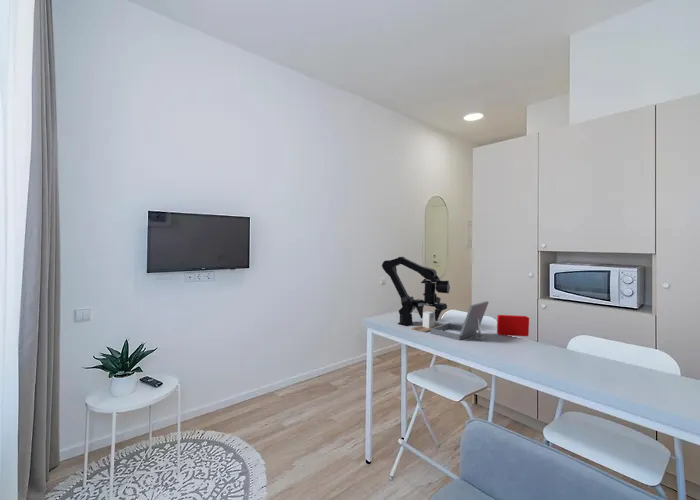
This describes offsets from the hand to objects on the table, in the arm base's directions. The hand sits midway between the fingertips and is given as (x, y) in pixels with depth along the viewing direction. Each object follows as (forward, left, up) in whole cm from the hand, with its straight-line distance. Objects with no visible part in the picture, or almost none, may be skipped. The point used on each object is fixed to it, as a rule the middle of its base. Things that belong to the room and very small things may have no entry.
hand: (428, 319), depth 190 cm
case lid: (+25, 0, +6) cm, 26 cm away
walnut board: (0, 0, -4) cm, 4 cm away
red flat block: (+37, +21, -5) cm, 43 cm away
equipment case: (+19, 0, -4) cm, 19 cm away
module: (0, 0, -4) cm, 4 cm away
